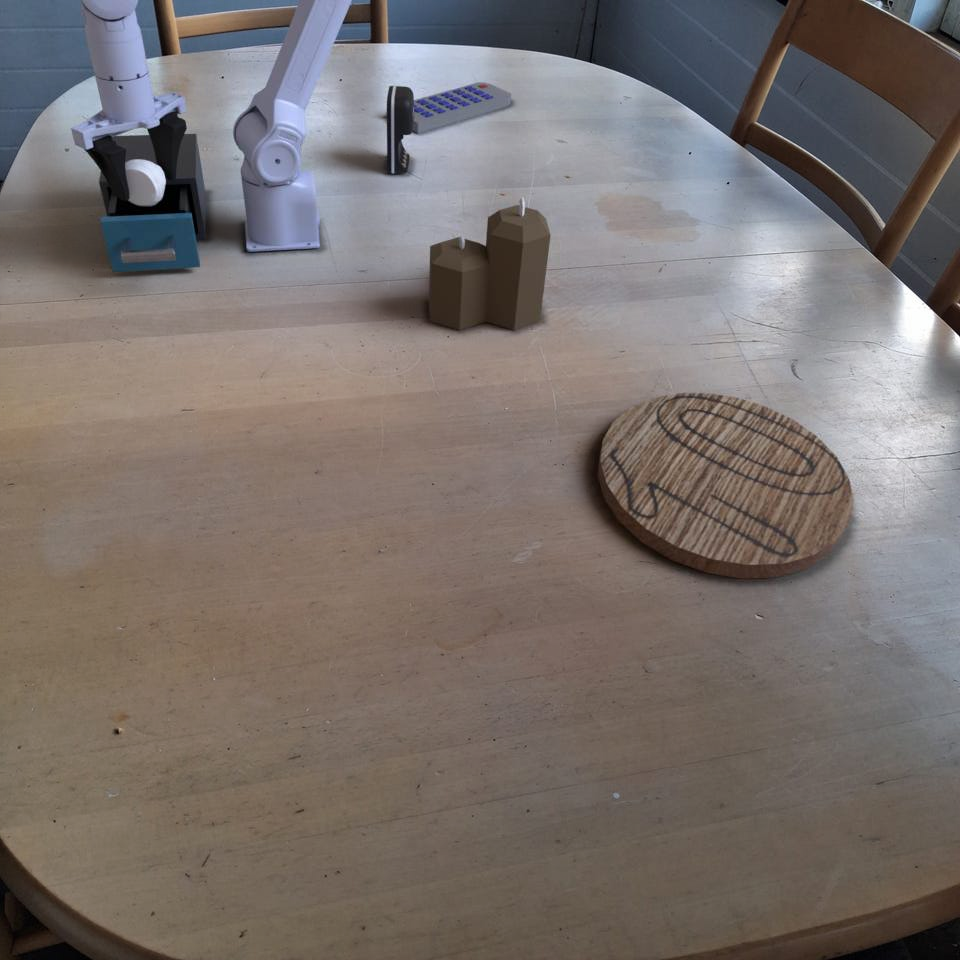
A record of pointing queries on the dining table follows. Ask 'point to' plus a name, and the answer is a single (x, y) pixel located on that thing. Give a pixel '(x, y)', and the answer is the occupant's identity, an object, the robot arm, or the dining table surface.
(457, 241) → the candle
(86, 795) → the dining table surface
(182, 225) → the drawer
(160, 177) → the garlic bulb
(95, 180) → the dining table surface
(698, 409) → the trivet
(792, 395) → the dining table surface
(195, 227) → the cabinet
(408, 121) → the battery charger
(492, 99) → the remote control
